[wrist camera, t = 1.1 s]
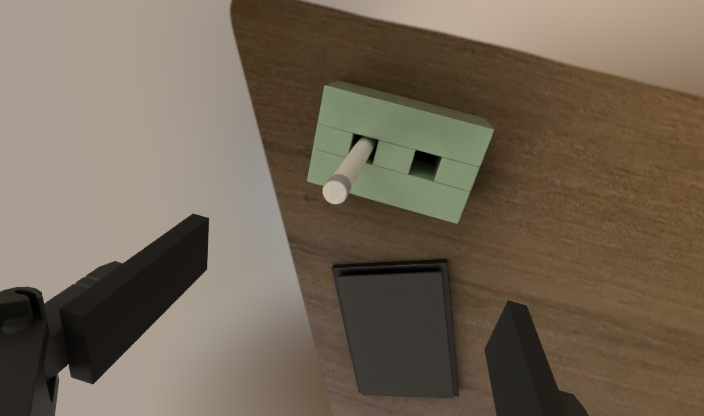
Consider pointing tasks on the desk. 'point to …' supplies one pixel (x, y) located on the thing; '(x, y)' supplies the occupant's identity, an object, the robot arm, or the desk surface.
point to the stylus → (348, 171)
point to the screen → (398, 333)
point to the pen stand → (401, 149)
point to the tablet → (403, 268)
